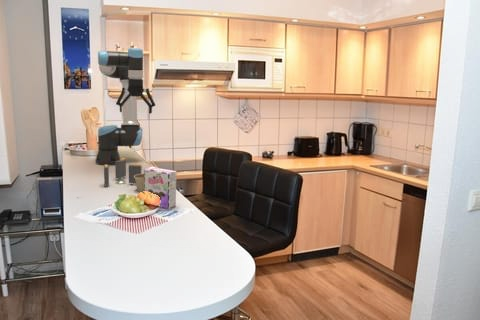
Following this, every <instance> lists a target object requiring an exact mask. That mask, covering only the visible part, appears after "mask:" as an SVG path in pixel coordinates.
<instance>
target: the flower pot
mask: <svg viewBox="0 0 480 320" xmlns="http://www.w3.org/2000/svg"><path fill="white" fill-rule="evenodd" d="M134 178H135V180H136V185H135V186H136V190H137V192H139V193H142V192H141V191H144V173H142V174H137V175H135V176H134Z"/></svg>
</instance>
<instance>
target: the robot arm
mask: <svg viewBox="0 0 480 320" xmlns="http://www.w3.org/2000/svg"><path fill="white" fill-rule="evenodd" d="M143 52H144V50H143V48H140V47H139V48H137V47H129V48H128V49H127V51H110V50H109V51H108V50H99V51H97V63H98V69H99V71H100V73H101V74H102V75H104V76H106V77H108V78H111V79H118V80H119V82H120V83H121V85H122V87H121V88H122V89H121V93H120V95H119V96H118V99H117V100H116V102H115V105H117V106H119V112H120V113H121V119H122V120H123V121H122V123H121V124H120V127H119V126H118V125H115V124H110V125H103V126H100V127H98V129H97V137H98V138H97V141H98V142H97V146H98V150H97V151H98V152H97V154H96V156H95V164H96V165H100V166H104V165H109V166H115V161H119V160H120V159H122V157H121V156H120V153H119V147H139V146H141V143H142V138H143V128H142V127H141V126H140V124H139V122H138V100H137V99H138V98H139V97H140V98H141V99H142V100H143V101H144V102H145V104H146V105H147V106H148V107H147V120H148V121H150V120H151V114H152V113H153V107H155V106H156V103H155V101H154V99H153V97H152V95H151V93H150V88H144V80H143V78H144V53H143ZM144 93H145V94H146V95H147V96H145V94H144ZM137 97H138V98H137ZM146 97H147V98H148V99H147V98H146Z"/></svg>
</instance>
